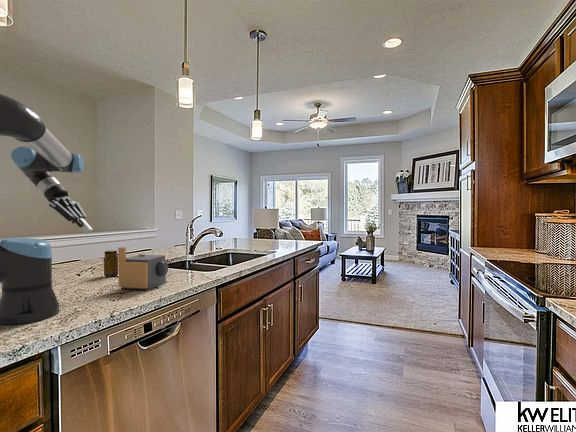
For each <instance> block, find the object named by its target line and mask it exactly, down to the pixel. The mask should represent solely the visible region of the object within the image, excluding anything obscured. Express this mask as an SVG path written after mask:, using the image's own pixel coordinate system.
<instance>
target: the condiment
mask: <svg viewBox="0 0 576 432" xmlns="http://www.w3.org/2000/svg"><path fill="white" fill-rule="evenodd" d="M118 274H119V260H118V250H105V251H104V257H103V276H105V277H104V278H112V277H111V276H116V278H117V277H118V278H119V276H117V275H118Z"/></svg>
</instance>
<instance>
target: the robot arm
mask: <svg viewBox="0 0 576 432" xmlns="http://www.w3.org/2000/svg"><path fill="white" fill-rule="evenodd" d="M1 136H2V137H8V138H9V137H10V138H13V139H15V140H16V141H18V142H22V143H25V144H27V146H23V145H22V146H18V147H16V148H15V149H12V151H11V153H10V158H11V160H12V161H13V162H14V164H15V166H16V167H17V168H18V169H19V170H20V171H21V172H22V173H23V175H24V176H26V177H27V178H28V179H29V181H30V182H31V183H32V184H33V185H34V186H35V188H37V189H38V190H39V192H40V193H41V194H42V196H44V198H45V199H46V200H47V201H48V202H49V204H48V206H49V207H51V208H52V209H54V210H55V211H56V212H57V213H58V214H60V215H61V216H62V217H63V218H65V219H66V220H67V221H68V222H71V224H76V225H77V227H79V228H80V229H81V230H82V232H84V234H85V235H89V234H91V232H92V231H94V230H93V228H92V226H90V224H89V223H88V221H86V218H87V216H88V215H86V213H85V211H84V209H83V207H82V206H81V205H80V201H78V200H76V201H74V200H73V199H72V198H71V197H69V193H68V191H67V190H66V188H65V187H64V186H63V185H62V183H60V182H59V180H58V179H57V178H56V177H55V176H54V175H53V174H52V173H72V174H73V173H81V172H83V171H84V166H85V161H84V158H83V156H82V155H81V154H79V153H74V152H73V153H71V152H70V151H69V150H68V149H67V148H66V147H65V146H64V145H63V144H62V142H60V141H59V140H58V138H56V137H55V136H54V135H53V133H52V132H50V130H48V128H47V125H46V123H45V120H44V119H43V118H42V117H41V116H40V115H39V114H38V113H37V112H35V111H34V110H33V109H32V108H30V107H28V106H26V105H25V104H23V103H22V102H20V101H19V100H16V99H14V98H12V97H10V96H7V95H5V94H2V93H0V137H1ZM51 247H52V246H51V243H49V242H48V241H47V240H44V239H40V238H39V239H37V238H30V237H29V238H27V237H7V238H2V239H1V240H0V284H1V296H0V325H2V326H3V325H4V326H5V325H6V326H9V325H10V326H11V325H23V324H28V323H33V322H38V321H41V320H45V319H48V318H51V317H53V316H56V315H58V314H59V313H60V303H59V301H58V300H57V296H56V293H55V291H54V289H53V267H52V265H53V264H52V263H53V262H52V260H53V259H52V258H53V254H52V248H51Z"/></svg>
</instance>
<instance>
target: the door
mask: <svg viewBox="0 0 576 432" xmlns="http://www.w3.org/2000/svg"><path fill="white" fill-rule="evenodd" d="M126 249H127V247H125V246H124V247H123V246H119V247H118V249H117V256H118V274H119V277H118V288H122V287H127V288H148V263H147V262H126V258H127V250H126Z"/></svg>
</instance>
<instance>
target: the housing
mask: <svg viewBox="0 0 576 432" xmlns="http://www.w3.org/2000/svg"><path fill="white" fill-rule="evenodd" d="M126 262H147V263H148V288H127V287H121V289H123V290H124V289H125V290H141V291H143V290H144V291H149V290H152V289H154V288H157V287H159V286H162V285H164V284H166V275H167V274H168V272H169V263H168V262H167V261H166V255H164V254H145V253H139V254H137V255H132V256H128V257H126Z"/></svg>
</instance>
